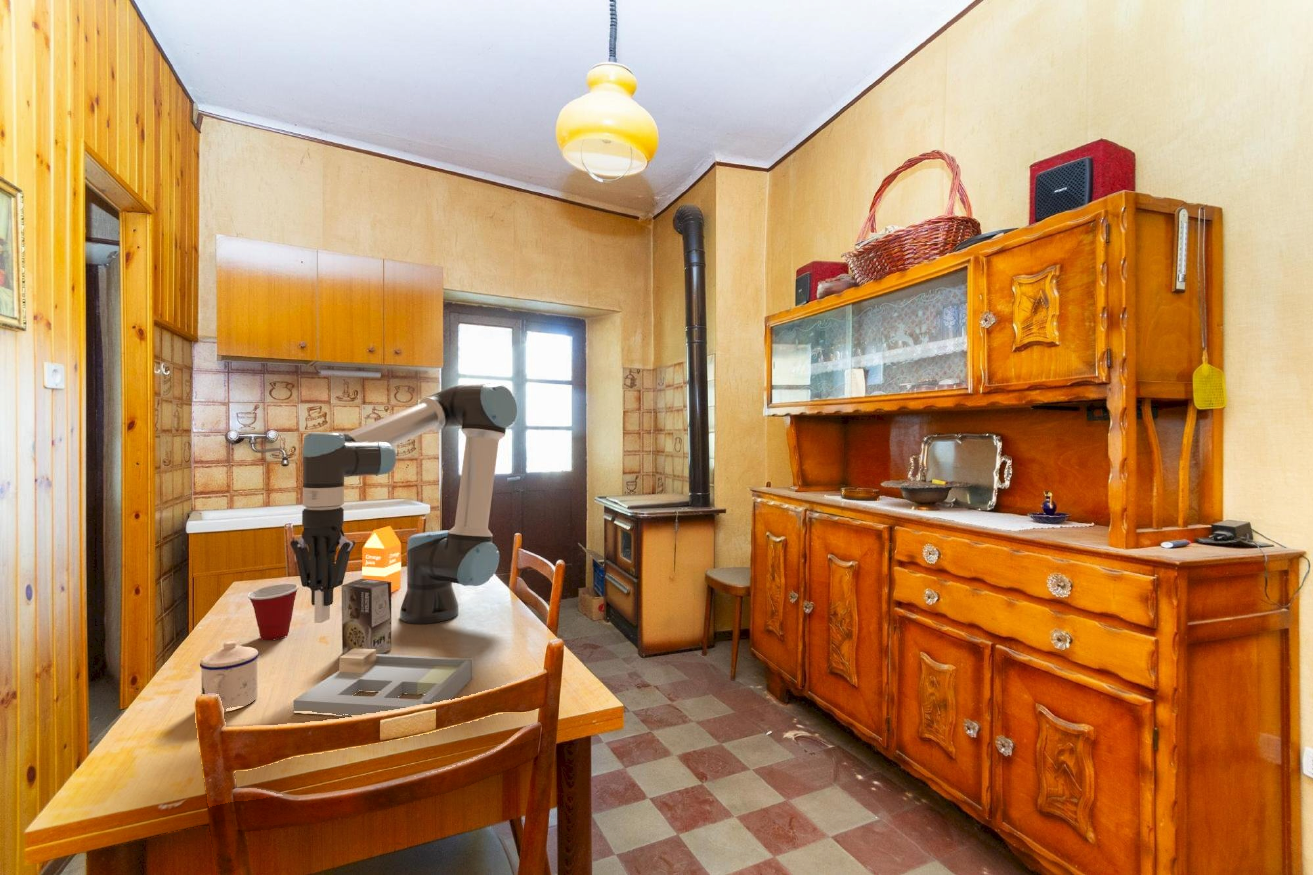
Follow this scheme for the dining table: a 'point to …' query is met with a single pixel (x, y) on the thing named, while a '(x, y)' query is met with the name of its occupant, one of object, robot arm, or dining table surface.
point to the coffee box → (366, 615)
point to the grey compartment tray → (388, 685)
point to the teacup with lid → (231, 674)
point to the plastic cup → (273, 609)
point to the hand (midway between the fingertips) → (322, 620)
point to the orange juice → (382, 557)
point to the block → (357, 660)
